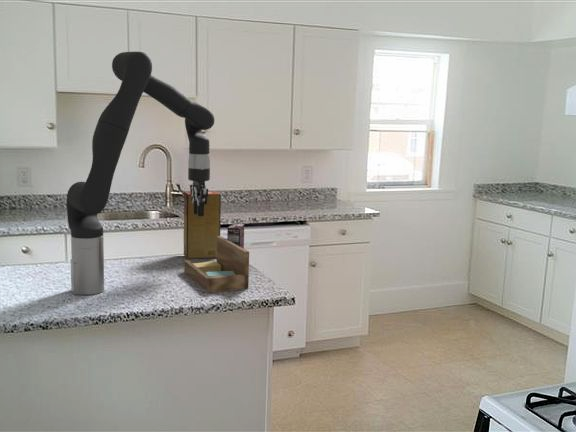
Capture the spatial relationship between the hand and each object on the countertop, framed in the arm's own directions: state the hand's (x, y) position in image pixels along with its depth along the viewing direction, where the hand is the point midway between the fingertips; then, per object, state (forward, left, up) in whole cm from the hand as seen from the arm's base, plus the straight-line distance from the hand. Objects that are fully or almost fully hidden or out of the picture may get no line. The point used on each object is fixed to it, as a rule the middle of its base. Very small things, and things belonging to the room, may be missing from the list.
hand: (198, 214), depth 207 cm
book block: (0, -23, -20) cm, 30 cm away
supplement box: (+12, -6, -19) cm, 24 cm away
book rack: (0, -17, -19) cm, 26 cm away
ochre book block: (0, -8, -20) cm, 21 cm away
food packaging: (+7, +17, -19) cm, 27 cm away
